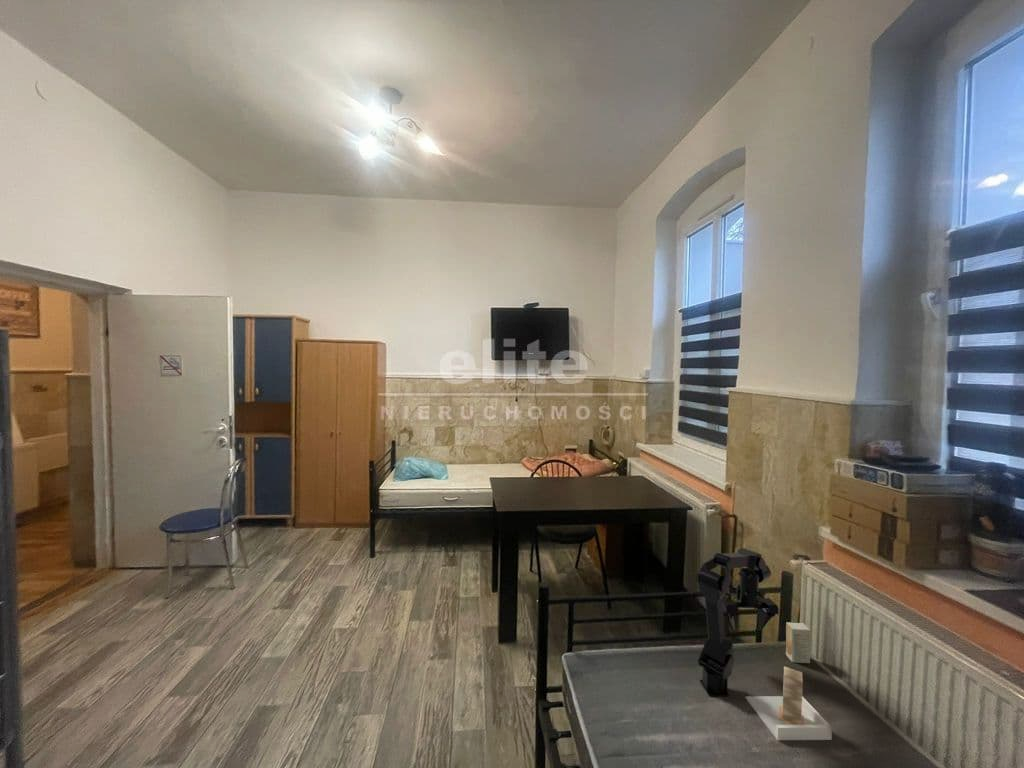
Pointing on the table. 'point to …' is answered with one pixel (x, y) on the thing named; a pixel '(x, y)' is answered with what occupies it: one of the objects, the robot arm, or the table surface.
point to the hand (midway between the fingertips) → (747, 629)
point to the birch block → (792, 695)
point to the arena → (784, 729)
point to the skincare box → (798, 642)
